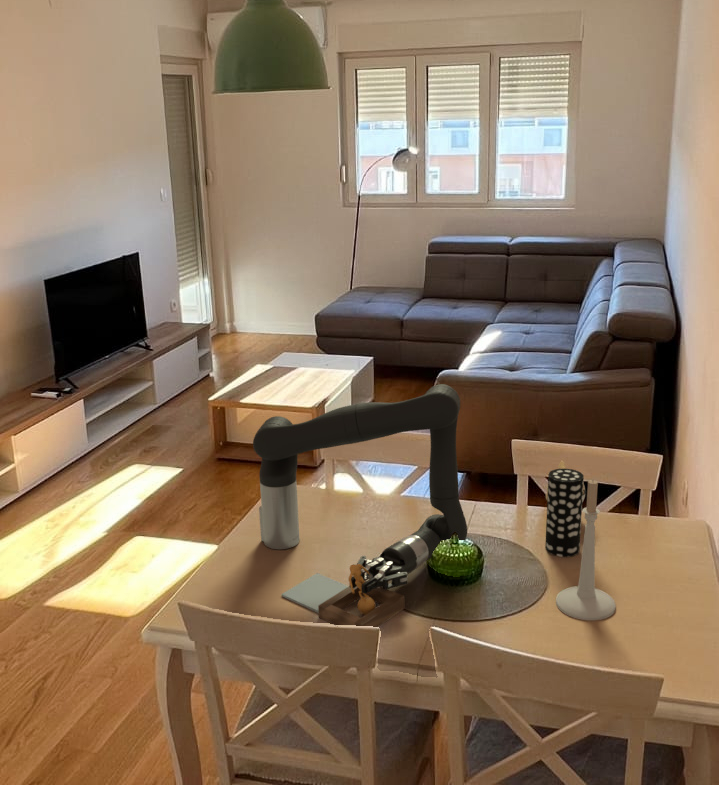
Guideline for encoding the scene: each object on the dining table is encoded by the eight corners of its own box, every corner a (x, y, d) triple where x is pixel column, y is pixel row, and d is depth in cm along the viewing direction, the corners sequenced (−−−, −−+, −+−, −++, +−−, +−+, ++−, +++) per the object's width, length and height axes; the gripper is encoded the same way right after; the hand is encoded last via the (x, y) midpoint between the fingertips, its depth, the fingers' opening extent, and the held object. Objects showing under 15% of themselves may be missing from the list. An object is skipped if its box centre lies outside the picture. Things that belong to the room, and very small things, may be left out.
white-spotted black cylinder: (542, 553, 213) (545, 479, 206) (548, 539, 220) (551, 466, 214) (576, 559, 210) (581, 484, 203) (581, 544, 217) (586, 470, 211)
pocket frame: (318, 617, 188) (318, 605, 187) (361, 590, 199) (361, 578, 198) (362, 637, 180) (362, 625, 179) (404, 608, 191) (404, 596, 190)
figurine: (366, 625, 185) (366, 577, 181) (341, 618, 187) (341, 570, 183) (382, 606, 192) (383, 559, 188) (358, 599, 194) (358, 552, 190)
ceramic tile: (281, 596, 197) (281, 594, 197) (317, 575, 206) (317, 572, 205) (320, 613, 189) (320, 611, 189) (355, 591, 198) (355, 588, 198)
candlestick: (622, 598, 192) (631, 474, 183) (606, 626, 182) (615, 497, 173) (566, 584, 199) (572, 464, 190) (547, 610, 188) (553, 485, 179)
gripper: (381, 533, 202) (332, 561, 189) (429, 550, 193) (381, 581, 181) (381, 561, 204) (333, 591, 192) (429, 580, 196) (382, 612, 183)
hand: (357, 586), depth 186 cm, fingers closed on figurine, 3 cm apart
